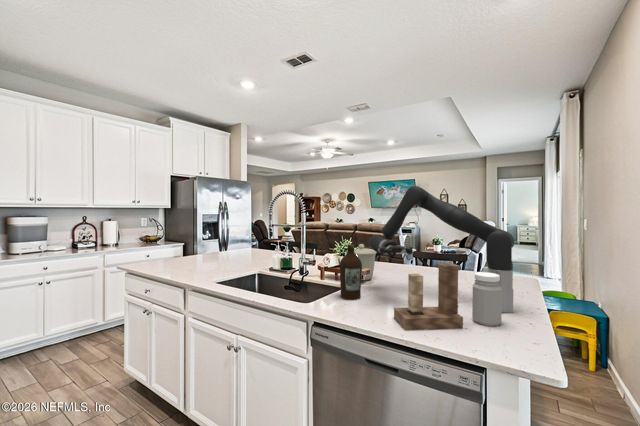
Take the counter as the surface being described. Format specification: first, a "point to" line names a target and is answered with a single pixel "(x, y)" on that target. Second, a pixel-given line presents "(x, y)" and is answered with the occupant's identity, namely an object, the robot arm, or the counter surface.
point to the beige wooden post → (415, 294)
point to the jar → (487, 299)
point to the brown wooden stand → (447, 305)
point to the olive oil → (350, 275)
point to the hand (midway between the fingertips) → (400, 252)
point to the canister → (366, 259)
